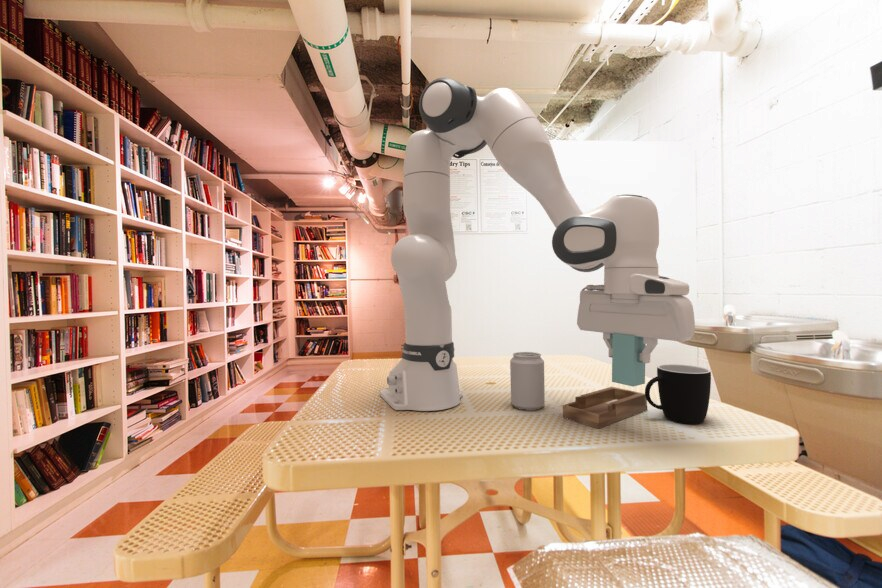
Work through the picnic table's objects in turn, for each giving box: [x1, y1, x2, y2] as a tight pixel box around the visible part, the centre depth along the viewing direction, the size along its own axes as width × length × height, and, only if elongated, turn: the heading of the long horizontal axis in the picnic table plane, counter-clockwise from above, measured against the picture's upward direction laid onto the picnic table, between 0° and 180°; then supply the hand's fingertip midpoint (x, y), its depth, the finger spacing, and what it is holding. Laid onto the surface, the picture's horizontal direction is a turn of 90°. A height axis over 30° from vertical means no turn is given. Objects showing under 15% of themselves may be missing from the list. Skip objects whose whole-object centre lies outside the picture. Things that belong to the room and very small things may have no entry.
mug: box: [644, 363, 712, 425], centre depth 74 cm, size 12×9×10 cm
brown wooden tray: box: [562, 386, 648, 430], centre depth 78 cm, size 8×18×4 cm, turn 124°
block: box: [611, 333, 647, 387], centre depth 68 cm, size 4×4×9 cm
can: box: [509, 351, 546, 411], centre depth 84 cm, size 8×8×12 cm
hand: (628, 360), depth 68 cm, fingers closed on block, 4 cm apart
